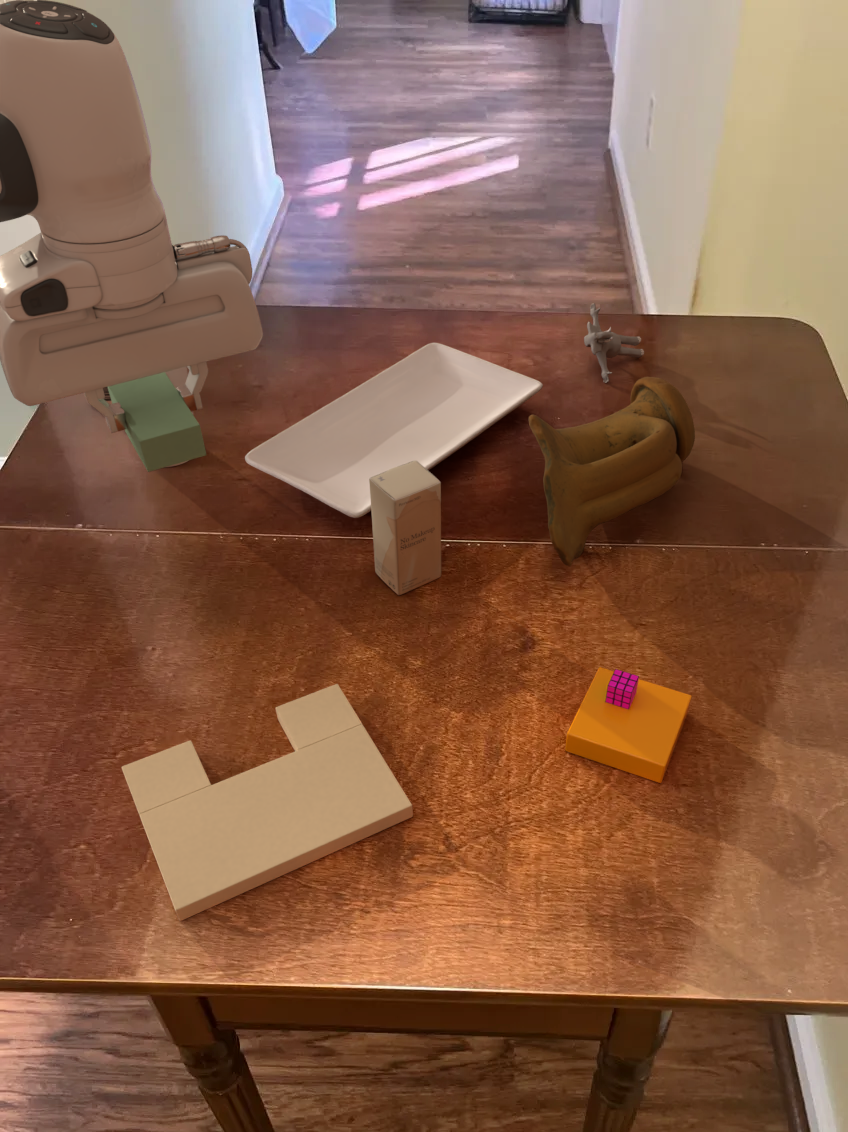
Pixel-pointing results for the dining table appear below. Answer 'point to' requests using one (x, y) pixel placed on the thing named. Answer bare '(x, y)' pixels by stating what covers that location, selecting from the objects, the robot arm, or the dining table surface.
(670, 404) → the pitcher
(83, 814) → the dining table surface
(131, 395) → the pad
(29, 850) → the dining table surface
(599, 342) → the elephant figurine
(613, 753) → the orange square pedestal
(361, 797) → the beige notched block
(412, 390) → the tray
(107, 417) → the robot arm
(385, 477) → the box
